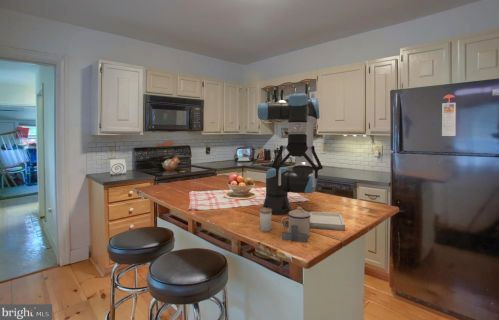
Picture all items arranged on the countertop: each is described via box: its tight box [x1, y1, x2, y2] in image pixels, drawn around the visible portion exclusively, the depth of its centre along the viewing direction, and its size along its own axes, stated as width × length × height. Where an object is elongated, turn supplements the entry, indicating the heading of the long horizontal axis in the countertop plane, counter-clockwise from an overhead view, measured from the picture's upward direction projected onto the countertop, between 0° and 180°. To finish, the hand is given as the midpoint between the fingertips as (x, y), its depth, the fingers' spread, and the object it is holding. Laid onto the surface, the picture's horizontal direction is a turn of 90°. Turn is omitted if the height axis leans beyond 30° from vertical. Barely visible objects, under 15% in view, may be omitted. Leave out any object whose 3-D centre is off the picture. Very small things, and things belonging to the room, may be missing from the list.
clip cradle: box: [280, 220, 309, 243], centre depth 115 cm, size 10×15×6 cm, turn 167°
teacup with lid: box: [280, 206, 311, 238], centre depth 115 cm, size 12×9×12 cm
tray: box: [309, 210, 346, 232], centre depth 130 cm, size 15×18×2 cm
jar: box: [259, 207, 273, 232], centre depth 121 cm, size 5×5×9 cm
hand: (296, 185), depth 114 cm, fingers open, 13 cm apart
